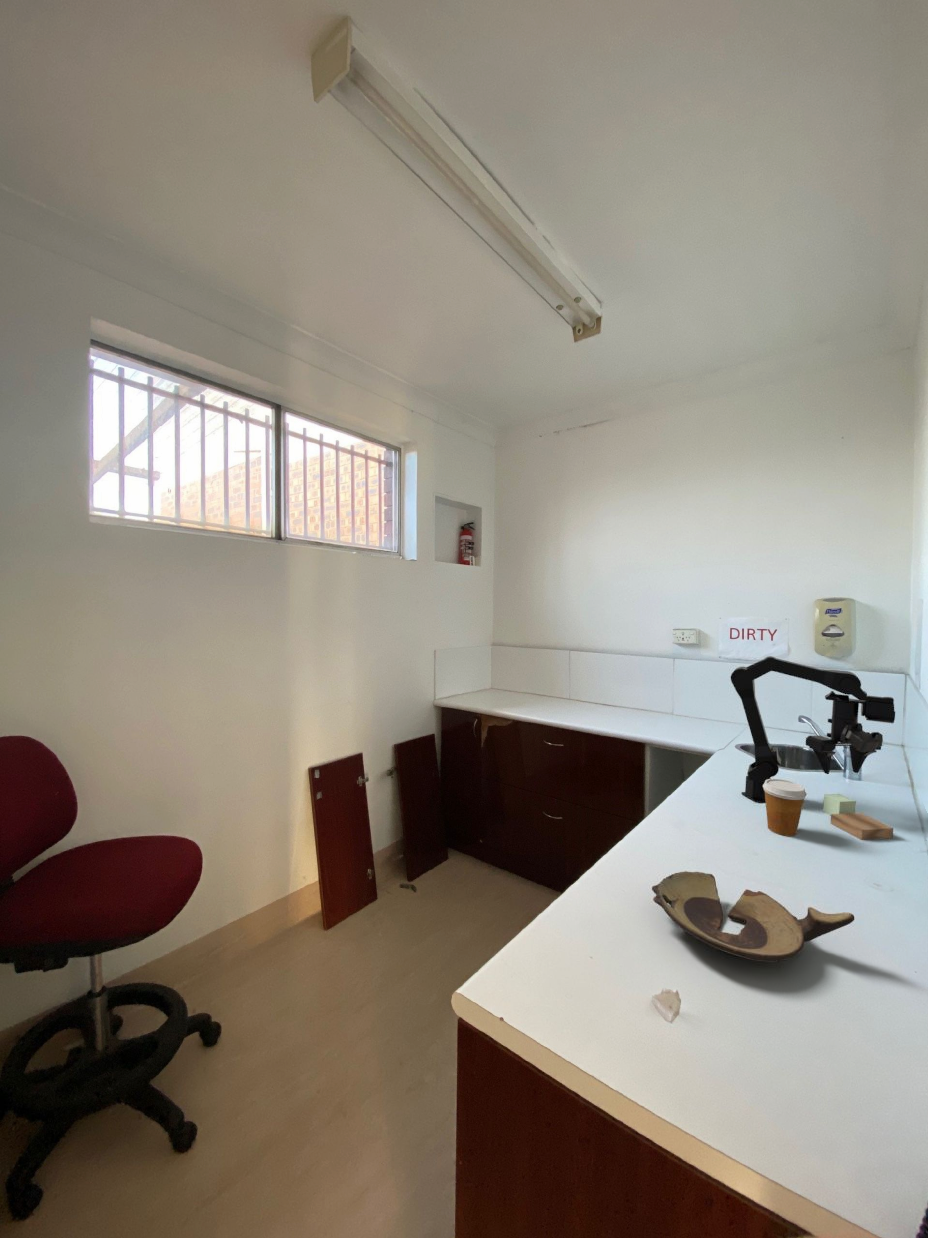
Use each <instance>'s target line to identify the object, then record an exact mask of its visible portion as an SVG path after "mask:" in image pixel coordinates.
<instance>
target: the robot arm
mask: <svg viewBox="0 0 928 1238" xmlns="http://www.w3.org/2000/svg"><path fill="white" fill-rule="evenodd" d="M770 672H775V673H779V674H782V675H787V676H791V677H794V678H799V679H802V680H806V681H811V682H815V683H817V684H820V685H823V686H825V687H827V688H829V689H831V691H830V692H829V693H827V694H826V695H824V698H825V700H827V701H832V710H831V712H832V713H831V718H827V723H828V724H829V723H830V724H831V725H830V726H831V727H830V732H827V733H826V737H825V736H822V735H820V734H819V735H818V734H817V735H808V736H807V737H805V746H807V747H808V748H809V749H811V750H813V752H814V755H815V756H816V757H817V759H818V762H819V765H820V767H821V768H822V771H823V773H824V774H826V775H829V774H830V771H831V763H832V758H833V757H832V756H834V755H835V754H836V751H834V750H835V749H836V748H837V747H848V748H849V755H850V762H851V768H852V772H853V773H855V774H858V773H859V772H860V770H861V768H862V766H863V764H864V763H865V761H866V759H867V758H868V756H870V755H871V754H874V753H877V751H881V750H882V747H883V742H884V739H883V734H882V733H880V732H879V731H872V732H871V733H870V732H868V731H864V730H863V725H862V724H863V723H860V722H859V721H858V720H859V710H860V715H861V716H862V717H864V718H865V719H866V721H870V722H878V723H888V724H894V723H895V720H896V711H895V702H894V701H895V699H894V698H893V697H891V696H877V695H876V696H875V695H868V693H867V692H866V691H865V690H863V689H862V682H861V679H860V678H859V677H858V676H857V675H856V674H855V673H854V672H851V671H848V670H839V669H838V670H837V669H826V668H825V669H823V668H818V667H815V666H809V665H805V664H801V663H798V662H792V661H790V660H784V659H781V658H777V657H775V656H766V657H765V658H763V659H761V660H759V661H757V662H755V663H753V664H750V665H748V666H739V667H736V668H735V669H734V670H733V672H731V675H730V682H731V684H732V686H733V688H734V690H735V692H736V693H737V695H738V697H739V699H740V700H741V702H742V707H743V710H744V713H745V716H746V721H747V723H748V727H749V730H750V731H749V732H750V735H751V738H752V741H753V745H754V759H755V760H754V762H752V763H750V764H749V766H748V769H747V774H746V776H745V787H744V788H745V791H741V795H742V796H744V797H746V798H748V799H750V801H753V802H755V803H766V801H765V791H764V788H763V784H764V783H765V781H766V780H767V779H772V778H773V777H775V776H777V774H778V773H779V770H780V766H782V765H781V764H782V758H781V757H780V755H779V751H778V746H773V747H772V745H771V743H770V742H769V738H768V736H767V732H766V729H765V725H764V722H763V721H764V720H763V718H762V714H761V712H760V708H759V704H758V701H757V698H756V683H755V680H756V679H758V678H760V677H762V676H764V675H766V674H768V673H770ZM833 690H834V691H833ZM835 691H837V692H838V693H836V692H835ZM840 693H841V694H840ZM851 695H852V697H855V698H850V697H849V696H851ZM859 706H860V709H859Z"/></svg>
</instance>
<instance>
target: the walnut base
mask: <svg viewBox="0 0 928 1238" xmlns="http://www.w3.org/2000/svg"><path fill="white" fill-rule="evenodd" d="M830 824H831V825H833V826H835V827H836V828H839V829H840V830H842V831H844V832H846V833H848V834H850V835H851V836H853V837H856V838H858V839H859V840H861V841H862V840H879V839H883V840H884V839H893V838H894V827H892V826H889V825H887V824H885V823H883V822H881V821H879V820H877V819H874V818H872V817H871V816H868V815H867V814H864V813H862V812H855V813H847V814H831V815H830Z"/></svg>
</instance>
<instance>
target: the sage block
mask: <svg viewBox="0 0 928 1238" xmlns="http://www.w3.org/2000/svg"><path fill="white" fill-rule="evenodd" d="M856 804H857V801H856V800H854V799H852V798H850V797H848V796H846V795H844V794H841V793H831V794H830V793H829V794H826V793H825V794H824V795H823V807H822V810H823V811H822V812H823V813H825V814H826V815H829V816H831V814H847V813H856V809H857V807H856V806H857V805H856Z"/></svg>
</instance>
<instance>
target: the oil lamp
mask: <svg viewBox="0 0 928 1238" xmlns="http://www.w3.org/2000/svg"><path fill="white" fill-rule="evenodd" d="M651 890H652V892H653V893H654V894H655V896H653V898H652V900H653V902H654V903H655V904H657V905H658V906H660V907H661V908H662V910H663V911H664V912H665V913H666V915H667V916H668V917H669V918H670V919H671V920H672V921H673V922H674V923H675V924H676V925H677V926H678V927H679V928H680V929H682V930H683V931H684V932H686V933H688V934H689V935H691V936H692V937H693V938H696V939H697V940H699V941H701V942H703V943H704V944H706V945H709V946H711V947H713V948H715V949H717V950H720V951H723V952H726V953H727V954H731V955H733V956H737V957H740V958H744V959H747V960H750V961H758V962H771V963H772V962H782V961H787V960H790V959H792V958H794V957H795V956H797V955H799V953H801V952H802V950H803V948H804V944H805V943H807V942H810V941H812V940H813V941H814V939H817V938H819V937H821V936H824V935H826V934H829V933H831V932H833V931H836V930H839V929H841V928H844V927H845V926H848V925H850V924H851V923H853V922H854V921H855V915H854V914H853V913H851V912H839V913H826V912H822V911H819V910H818V909H816V908H813V907H811V906H808V908H807V914H806V916H805V917H803V918H801V919H800V918H799V919H798V918H797V916H795V915H793V914H792V913H791V912H790V911H789V910H788V909H786V907H785V906H784V905H782V904H781V903H779V902H778V900H776V899H774V898H773V897H771V896H770V895H768V894H767V893H765V892H763V891H761V890H759V891H753V890H751V889H747V888H746V889H745V890H744V891H743V893H742V894H741V896H740V898H739V899H738V900H736V902H735V904H734V905H733V906H732V908H731V909H730V910H729V911H728V913H727V914H726V915H727V918H729V919H730V920H733V921H735V922H739V923H746V924H745V925H744V927H743V928H742V929H740V932H739V933H738V934H735V933H729V932H723V931H720V930H719V929H720V927H721V926H722V925H723V919H724V913H723V907H722V904H721V900H720V897H719V892H718V887H717V882H716V878H715V876H714V875H713V874H712V873H706V872H700V871H685V870H684V871H678V872H674V873H672V874H670V875H668V876H666V877H665V878H663V879H662V880H661V881H660V882H659V883H658V884H655V885H652V886H651ZM736 928H739V927H738V926H736Z"/></svg>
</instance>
